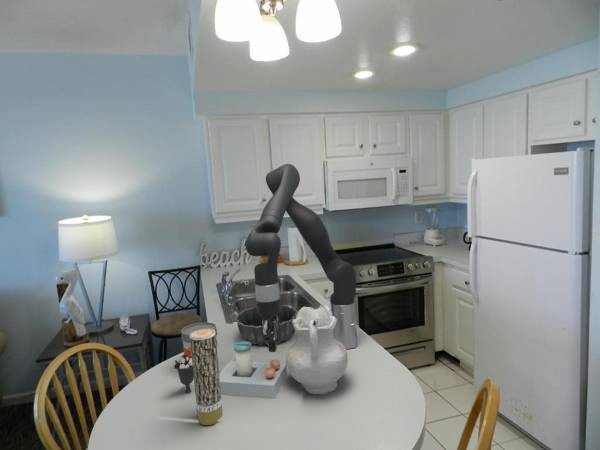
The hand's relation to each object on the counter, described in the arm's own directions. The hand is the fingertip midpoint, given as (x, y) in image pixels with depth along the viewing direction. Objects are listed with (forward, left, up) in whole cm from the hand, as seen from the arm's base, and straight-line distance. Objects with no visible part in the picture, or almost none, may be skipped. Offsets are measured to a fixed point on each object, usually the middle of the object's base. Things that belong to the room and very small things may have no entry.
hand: (272, 351), depth 123 cm
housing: (+8, 0, -13) cm, 15 cm away
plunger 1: (+1, +3, -9) cm, 10 cm away
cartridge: (+10, 0, -12) cm, 15 cm away
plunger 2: (+1, -3, -9) cm, 10 cm away
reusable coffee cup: (+31, -10, -13) cm, 35 cm away
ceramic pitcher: (-13, -3, -13) cm, 19 cm away
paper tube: (+14, +18, -13) cm, 26 cm away
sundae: (+27, +7, -13) cm, 30 cm away
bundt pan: (+16, -40, -13) cm, 45 cm away
